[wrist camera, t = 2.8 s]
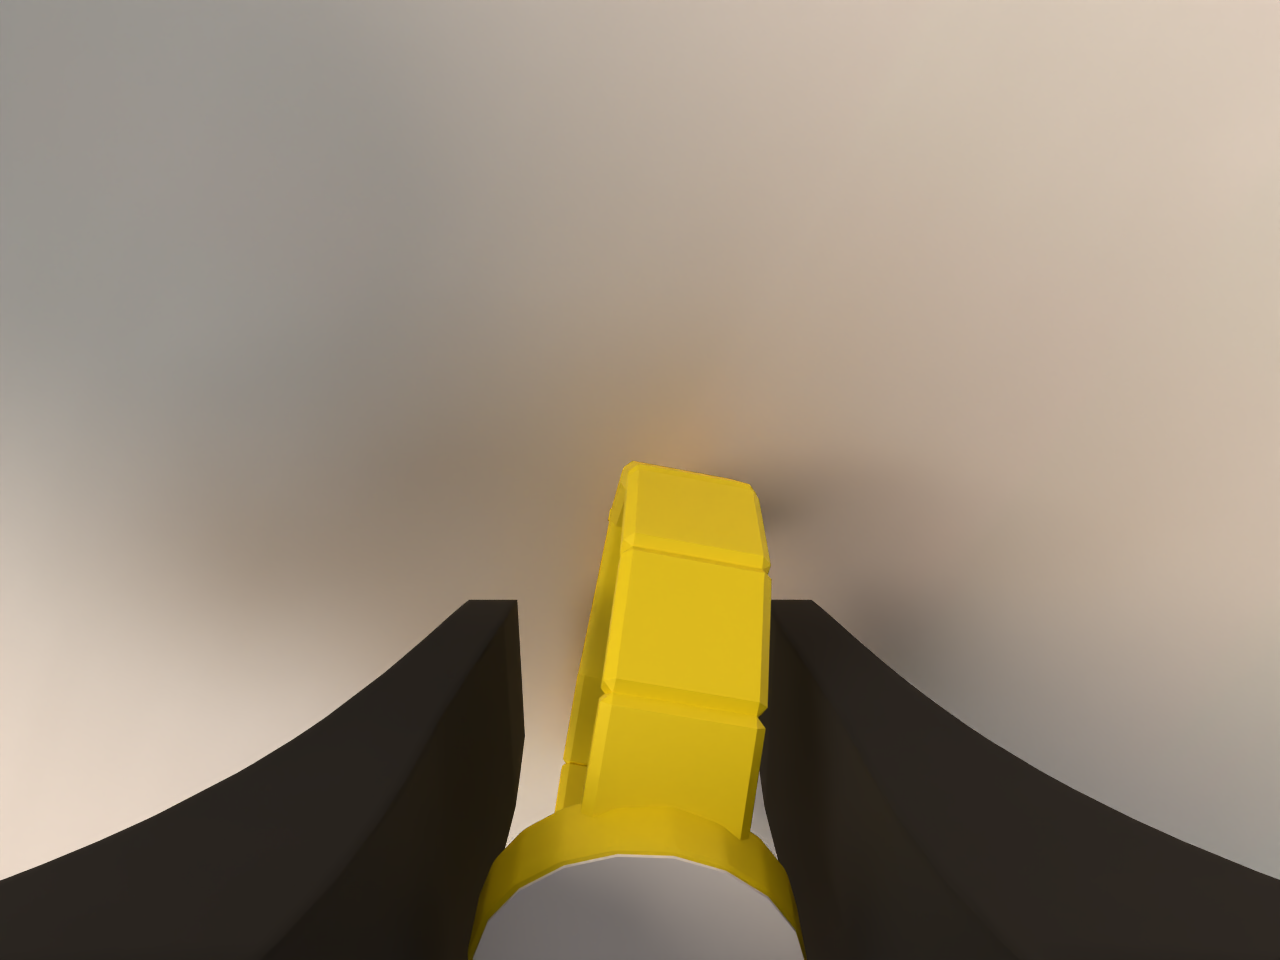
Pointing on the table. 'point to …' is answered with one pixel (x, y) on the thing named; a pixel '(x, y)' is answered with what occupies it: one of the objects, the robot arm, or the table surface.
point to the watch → (658, 751)
